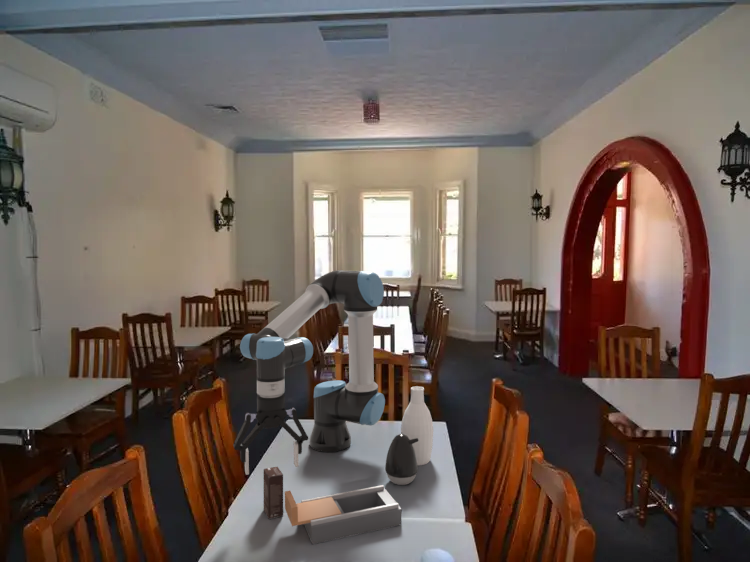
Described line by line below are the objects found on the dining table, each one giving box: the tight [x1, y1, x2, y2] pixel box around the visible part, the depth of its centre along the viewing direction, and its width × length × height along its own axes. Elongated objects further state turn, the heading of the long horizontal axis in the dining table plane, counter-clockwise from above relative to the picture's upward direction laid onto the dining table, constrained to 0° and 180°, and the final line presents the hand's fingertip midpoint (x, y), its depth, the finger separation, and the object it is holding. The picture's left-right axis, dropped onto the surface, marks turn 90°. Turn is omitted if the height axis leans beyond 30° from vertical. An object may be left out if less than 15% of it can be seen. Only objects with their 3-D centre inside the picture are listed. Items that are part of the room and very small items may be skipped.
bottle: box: [400, 385, 434, 466], centre depth 180 cm, size 11×11×25 cm
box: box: [263, 466, 284, 520], centre depth 147 cm, size 6×4×12 cm
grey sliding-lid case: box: [300, 484, 402, 545], centre depth 143 cm, size 13×24×6 cm, turn 111°
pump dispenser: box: [384, 433, 419, 486], centre depth 165 cm, size 10×10×15 cm
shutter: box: [284, 490, 341, 527], centre depth 139 cm, size 9×13×5 cm
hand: (271, 468), depth 146 cm, fingers open, 13 cm apart
